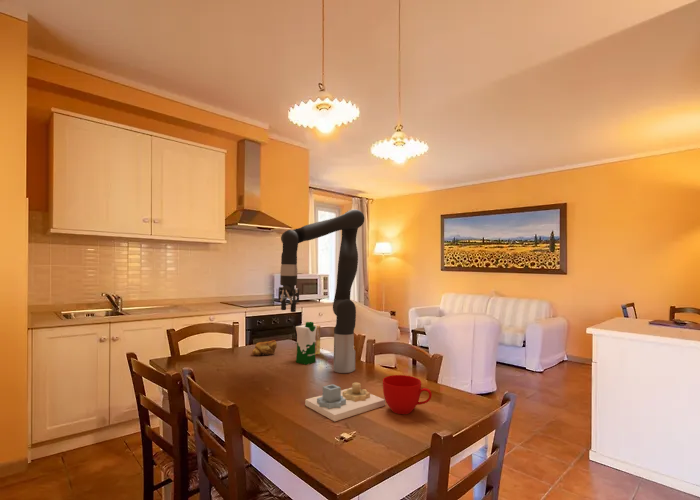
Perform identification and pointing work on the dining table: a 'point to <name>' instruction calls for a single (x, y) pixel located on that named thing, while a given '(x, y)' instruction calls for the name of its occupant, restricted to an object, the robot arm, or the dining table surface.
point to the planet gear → (331, 397)
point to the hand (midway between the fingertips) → (288, 311)
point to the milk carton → (306, 343)
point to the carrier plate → (348, 403)
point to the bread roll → (265, 348)
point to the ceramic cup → (403, 393)
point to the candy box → (317, 340)
